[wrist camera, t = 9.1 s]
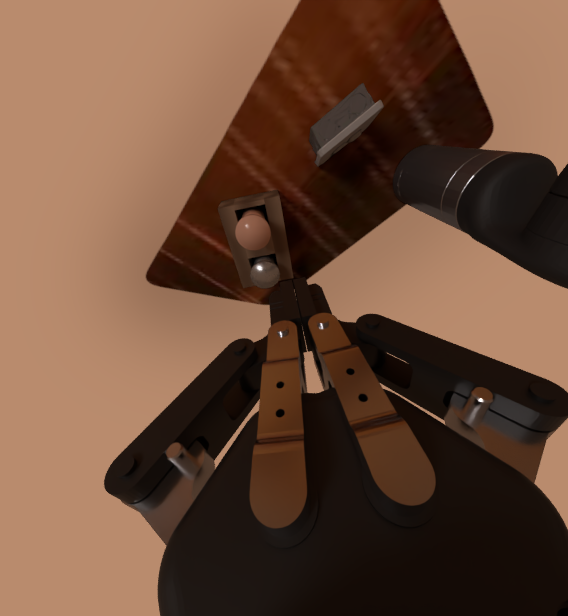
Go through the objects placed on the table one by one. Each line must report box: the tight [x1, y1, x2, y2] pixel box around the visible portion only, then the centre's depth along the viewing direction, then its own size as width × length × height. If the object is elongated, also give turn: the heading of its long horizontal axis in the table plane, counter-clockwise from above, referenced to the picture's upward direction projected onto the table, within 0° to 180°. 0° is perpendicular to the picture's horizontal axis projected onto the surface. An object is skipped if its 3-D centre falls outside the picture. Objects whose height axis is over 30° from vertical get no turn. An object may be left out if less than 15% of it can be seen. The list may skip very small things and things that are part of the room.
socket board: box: [218, 190, 293, 288], centre depth 45 cm, size 10×15×5 cm, turn 10°
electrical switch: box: [309, 83, 384, 166], centre depth 35 cm, size 9×5×9 cm, turn 126°
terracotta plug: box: [235, 207, 271, 250], centre depth 39 cm, size 5×5×8 cm
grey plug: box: [250, 254, 280, 288], centre depth 46 cm, size 5×5×8 cm
